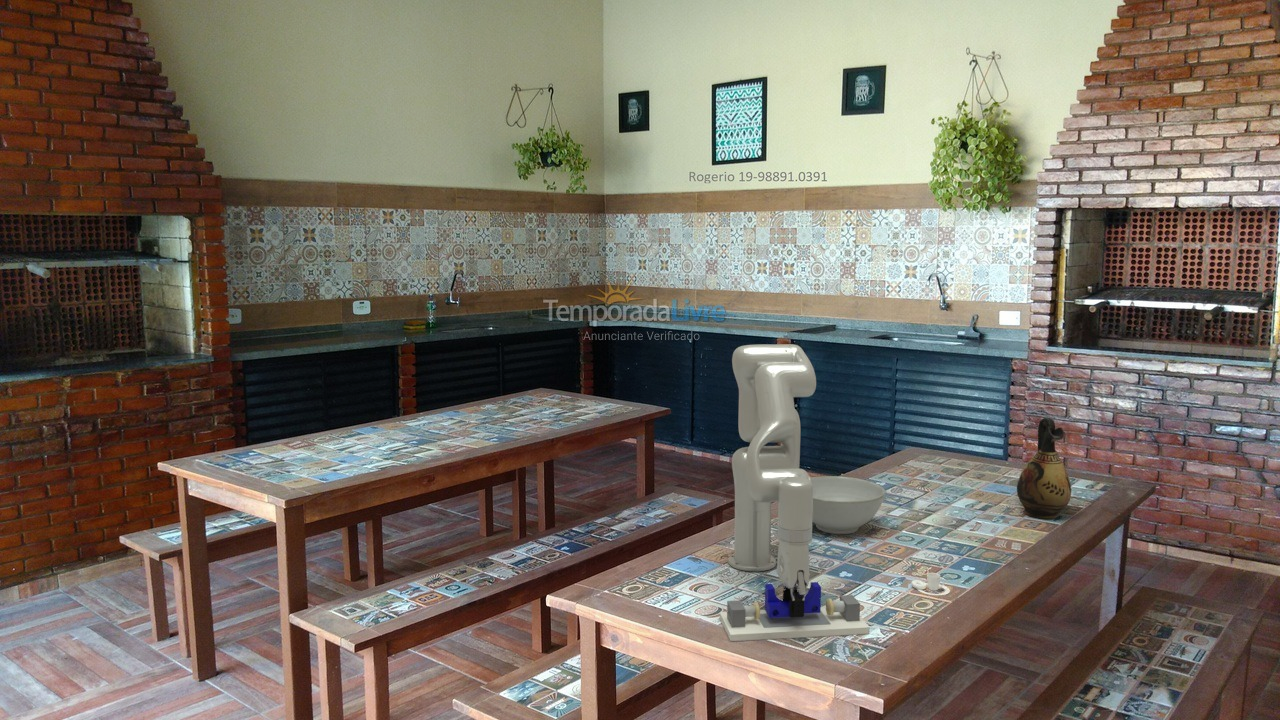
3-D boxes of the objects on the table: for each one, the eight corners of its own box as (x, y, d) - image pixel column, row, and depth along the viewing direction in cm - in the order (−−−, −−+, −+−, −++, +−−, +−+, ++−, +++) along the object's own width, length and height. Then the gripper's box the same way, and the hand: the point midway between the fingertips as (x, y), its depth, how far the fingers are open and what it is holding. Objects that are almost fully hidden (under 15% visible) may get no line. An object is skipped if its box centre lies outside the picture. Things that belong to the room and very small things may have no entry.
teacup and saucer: (906, 589, 230) (907, 574, 230) (923, 581, 236) (924, 565, 235) (939, 599, 224) (940, 583, 223) (955, 591, 229) (956, 575, 229)
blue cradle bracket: (769, 617, 206) (769, 591, 205) (764, 609, 210) (765, 584, 209) (822, 615, 207) (823, 589, 206) (816, 607, 211) (817, 582, 210)
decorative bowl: (876, 514, 288) (877, 477, 286) (890, 544, 262) (892, 502, 260) (788, 512, 291) (789, 474, 289) (794, 541, 264) (795, 500, 263)
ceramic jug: (1078, 522, 280) (1085, 425, 276) (1026, 522, 281) (1032, 425, 276) (1054, 505, 297) (1060, 413, 293) (1006, 505, 297) (1011, 413, 293)
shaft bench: (719, 618, 213) (719, 594, 212) (850, 611, 216) (851, 587, 216) (730, 641, 201) (730, 615, 200) (869, 633, 205) (870, 608, 204)
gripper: (768, 521, 214) (767, 597, 216) (788, 547, 197) (787, 628, 200) (800, 520, 214) (798, 596, 217) (823, 545, 198) (821, 627, 200)
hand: (793, 610), depth 208 cm, fingers closed on blue cradle bracket, 4 cm apart
